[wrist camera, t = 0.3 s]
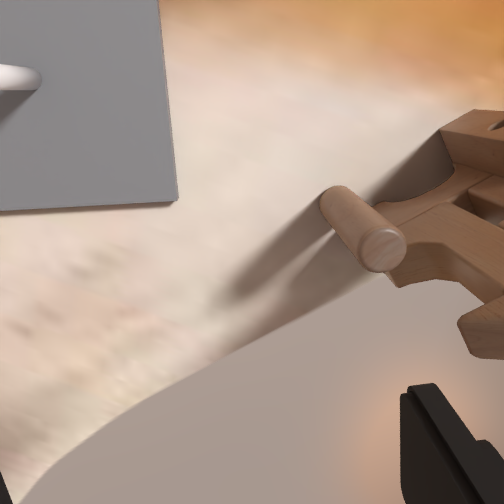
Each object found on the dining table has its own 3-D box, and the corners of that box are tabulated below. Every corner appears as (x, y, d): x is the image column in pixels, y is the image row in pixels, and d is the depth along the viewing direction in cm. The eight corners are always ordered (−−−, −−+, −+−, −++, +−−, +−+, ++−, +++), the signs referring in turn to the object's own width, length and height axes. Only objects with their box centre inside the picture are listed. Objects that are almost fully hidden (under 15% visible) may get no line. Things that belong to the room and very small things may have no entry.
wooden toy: (475, 103, 38) (884, 125, 14) (501, 173, 40) (896, 291, 16) (312, 196, 40) (434, 349, 16) (345, 257, 42) (496, 472, 18)
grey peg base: (-137, -67, 32) (-299, -137, 22) (150, -78, 32) (117, -150, 23) (-58, 211, 38) (-156, 252, 29) (178, 197, 39) (162, 233, 29)
